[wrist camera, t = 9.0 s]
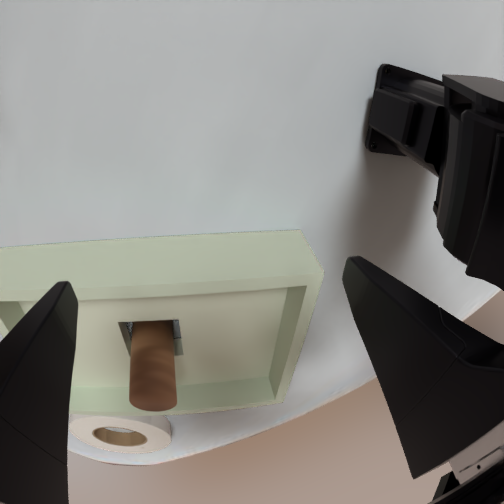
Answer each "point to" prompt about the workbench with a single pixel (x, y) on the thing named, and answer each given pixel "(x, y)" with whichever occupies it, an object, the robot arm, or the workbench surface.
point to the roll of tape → (141, 441)
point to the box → (177, 312)
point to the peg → (152, 366)
